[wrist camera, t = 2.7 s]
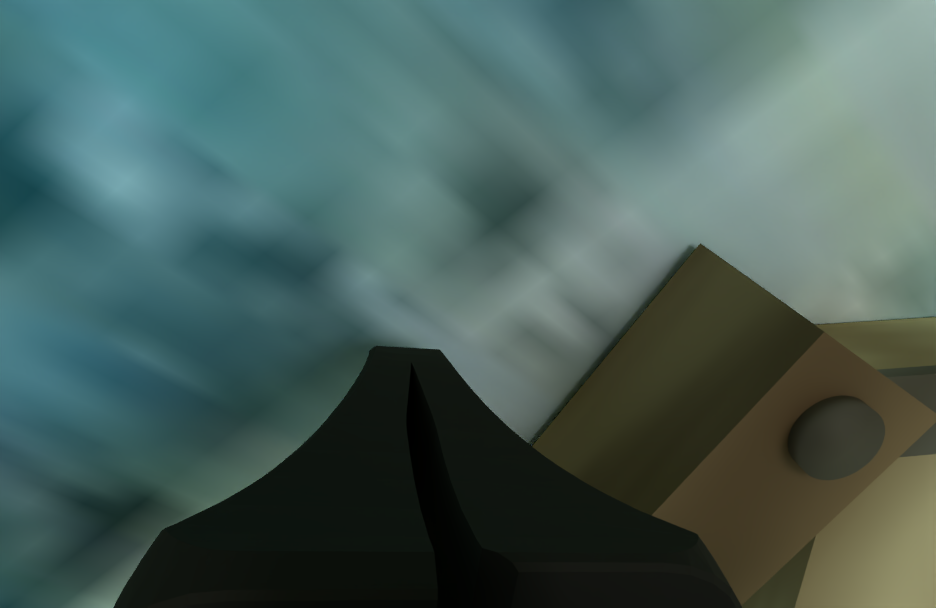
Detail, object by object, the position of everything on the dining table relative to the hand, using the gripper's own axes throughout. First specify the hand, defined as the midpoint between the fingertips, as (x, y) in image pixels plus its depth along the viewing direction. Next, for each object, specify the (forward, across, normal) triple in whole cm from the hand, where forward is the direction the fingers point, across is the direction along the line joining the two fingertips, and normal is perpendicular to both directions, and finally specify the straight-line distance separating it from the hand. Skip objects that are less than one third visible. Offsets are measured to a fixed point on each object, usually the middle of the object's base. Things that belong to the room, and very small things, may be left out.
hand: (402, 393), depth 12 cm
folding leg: (+1, -5, +2) cm, 5 cm away
